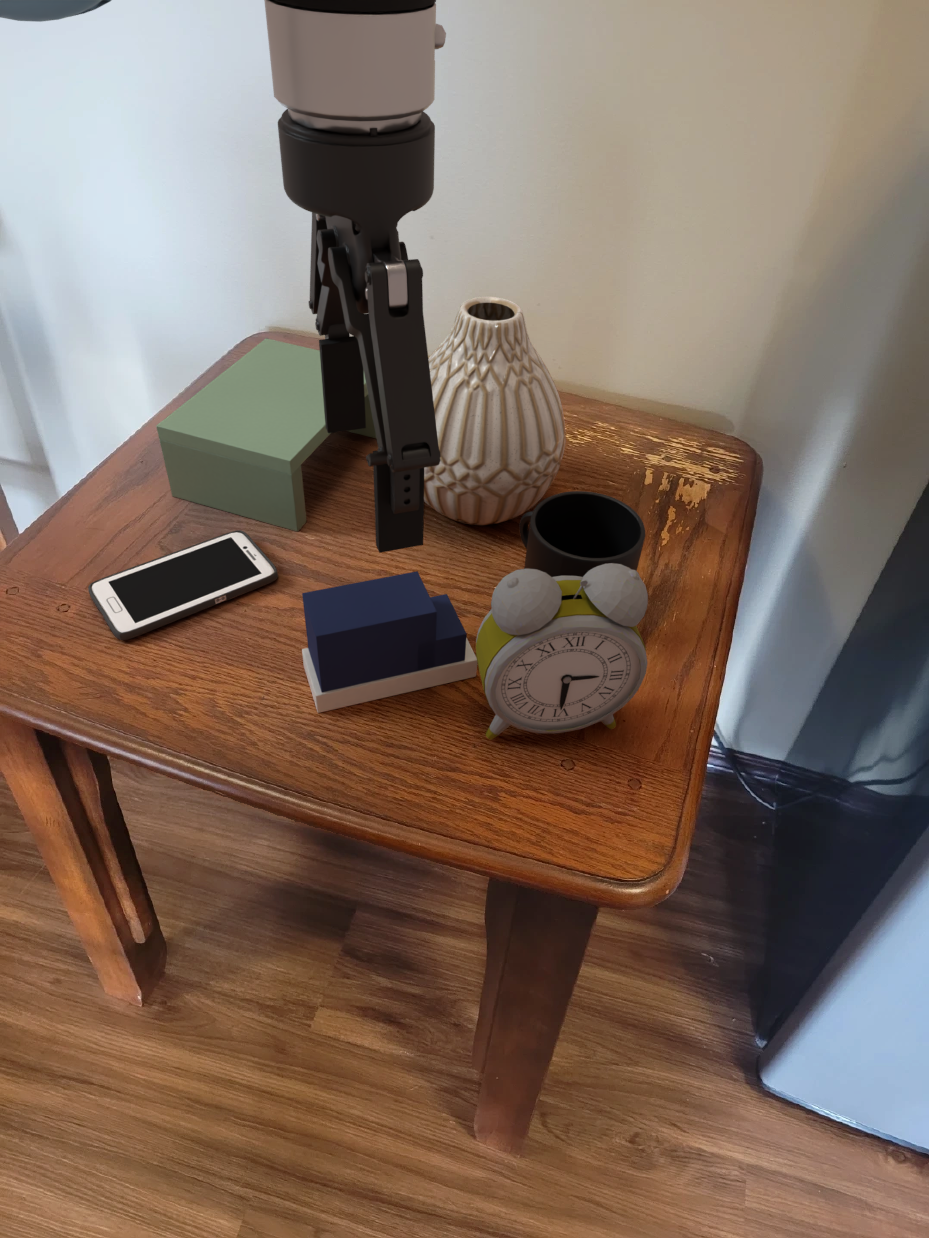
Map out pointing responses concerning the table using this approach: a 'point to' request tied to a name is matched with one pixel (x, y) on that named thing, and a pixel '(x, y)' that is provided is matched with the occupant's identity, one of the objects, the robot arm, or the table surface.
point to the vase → (492, 417)
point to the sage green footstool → (252, 435)
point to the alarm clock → (562, 648)
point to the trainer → (381, 641)
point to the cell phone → (181, 584)
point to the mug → (581, 534)
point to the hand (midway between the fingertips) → (370, 482)
